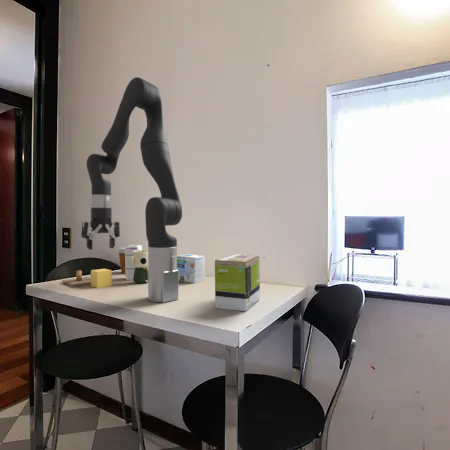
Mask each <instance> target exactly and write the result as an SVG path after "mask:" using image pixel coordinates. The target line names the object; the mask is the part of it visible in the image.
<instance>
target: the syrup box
mask: <svg viewBox="0 0 450 450" xmlns="http://www.w3.org/2000/svg"><path fill="white" fill-rule="evenodd" d="M124 247H125V274H124V275H125V281H133V279H134V271H135V268H136V267H133V266H132V265H131V257H132V251H136V250H143V246H142V245H141V244H140V245H139V244H132V245H127V246H124Z"/></svg>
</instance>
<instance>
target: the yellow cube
mask: <svg viewBox="0 0 450 450" xmlns="http://www.w3.org/2000/svg"><path fill="white" fill-rule="evenodd" d="M112 272H113V271H112V269H107V268H99V269H91V270H90V278H91V285H90V286H91V287H94V288H96V289H99V288H106V287H111V286H112V279H113V278H112Z"/></svg>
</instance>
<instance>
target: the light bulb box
mask: <svg viewBox="0 0 450 450" xmlns="http://www.w3.org/2000/svg"><path fill="white" fill-rule="evenodd" d="M205 259H206V258H205V255H199V254H198V255H197V254H188V253H187V254H186V253H184V254H179V255H178V254H177V270H178V272H179V273H178V282H186V283H191V284H199V283H201V282H205V276H206V275H205V272H206V269H205V267H206V266H205V263H206V262H205V261H206V260H205Z"/></svg>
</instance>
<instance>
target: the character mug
mask: <svg viewBox="0 0 450 450" xmlns="http://www.w3.org/2000/svg"><path fill="white" fill-rule="evenodd" d="M131 265H132V266H133V267H136V268H135V271H134V279H133V280H132V281H133V282H135V283H137V284H140V283H141V284H142V283H146V282H147V283H148V250H147V249H146V250H145V249H142V250H136V251H132V257H131Z"/></svg>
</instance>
